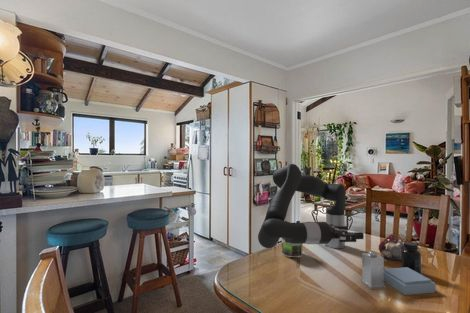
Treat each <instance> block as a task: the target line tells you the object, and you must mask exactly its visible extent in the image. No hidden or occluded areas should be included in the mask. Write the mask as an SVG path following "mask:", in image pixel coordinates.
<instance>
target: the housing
mask: <svg viewBox="0 0 470 313" xmlns="http://www.w3.org/2000/svg"><path fill="white" fill-rule="evenodd" d="M361 254H362V255H361V261H362V262H361V263H362V264H361V266H362V268H361V269H362V276H361V277H362V278H361V279H360V282H361V283H362V284H364V285H365V286H366V287H367V288H369V289H370V290H378V289H386V285H385V281H384V269H385V268H384V267H385V266H384V264H385V263H384V262H385V260H384V258H385V257H384V256H383V255H382V256H383V257H384V258H383V257H382V256H380V255H381V254H380V255H379V254H378V252H377V251H374V250H368V252H362V253H361Z"/></svg>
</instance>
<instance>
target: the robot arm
mask: <svg viewBox="0 0 470 313" xmlns="http://www.w3.org/2000/svg"><path fill="white" fill-rule="evenodd" d="M272 181H273V183H274V185H276V187H278V188H279V189H278V191H276V193H275V194H274V195H273V197H272V199H271V200H270V201H269V205H268V207H267V209H266V214H265V218H264V220H263V222H262V225H261V227H260V229H259V232H258V234H257V240H258V243H259V244H260V246H261V247H263V248H264V249H272V248H274V247H275V246H276V245H277V244H278V242H279V240H280V238H281V239H282V237H283V238H285V239H286V241H287V242H288V243H291V244H302V245H303V244H305V245H324V246H327V247H328V248H332V249H344V248H345V247H346V246H345V245H346V243H357V240H364V236H365V235H364V232H361V231H354V232H353V231H352V232H351V231H349V227H348V226H347V225H345V224H346V220H345V217H346V216H345V209H346V197H347V195H346V194H347V192H346V190H347V189H346V187H345V185H344V184H341V183H326V182H324V180H322V179H321V178H320V177H318V176H314V175H311V174H309V175H308V174H302V171H301V170H300V168H299V167H298V165H297V164H294V163H289V164H287V165H285V166H282V167H280V168H278V169H276V170H275V171H274V172H273V174H272ZM296 192H298V193H303V194H306V195H310V196H314V197H321V198H323V199H324V200H326V201H331V202H335V203H334V205H333V206H332V205H331V206H328V207H326V209H325V221H303V222H289V221H288V220H286V218H287V214H288V213H287V212H288V210H289V206H290V204H291V201H292V199H293V197H294V196H295V193H296Z"/></svg>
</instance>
